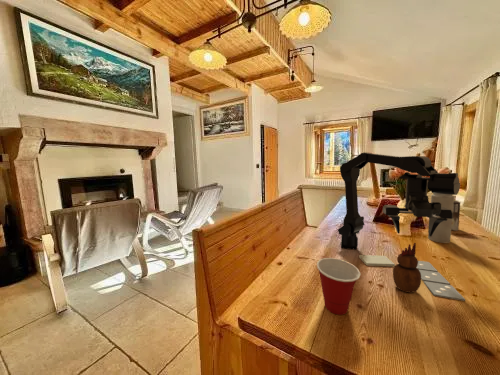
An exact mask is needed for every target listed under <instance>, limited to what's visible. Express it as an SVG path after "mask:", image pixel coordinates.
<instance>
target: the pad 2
mask: <svg viewBox="0 0 500 375" xmlns="http://www.w3.org/2000/svg"><path fill="white" fill-rule="evenodd" d="M419 271H420V273H421V282H424V281H426V282H433V283H439V284H446V285H451V282H449V281H448V280H447V279H446V277H444V275H442V274H441V273H440V272H439V271H438V272H432V271H425V270H419Z"/></svg>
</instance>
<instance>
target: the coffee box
mask: <svg viewBox="0 0 500 375" xmlns="http://www.w3.org/2000/svg"><path fill="white" fill-rule="evenodd" d="M460 209H461V202H460V201H457V200H454V203H453V219H452V226H451V231H456V232H457V231H459V228H460V227H459V225H460V214H461V212H460V211H461V210H460Z"/></svg>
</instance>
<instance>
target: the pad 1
mask: <svg viewBox="0 0 500 375" xmlns="http://www.w3.org/2000/svg"><path fill="white" fill-rule="evenodd" d="M416 268H418V270H425V271H432V272H439V271H438V270H437V269H436V268H435V267H434V266H433V264H432V263H430V261H424V260H418V265H417V267H416Z"/></svg>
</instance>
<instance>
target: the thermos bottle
mask: <svg viewBox="0 0 500 375" xmlns="http://www.w3.org/2000/svg"><path fill="white" fill-rule="evenodd" d="M454 201H455V195H450V194H437V193H432V194H431V196H430V203H432V202H439V203H441V207H445V208H447V209H450V210H451V211H453V203H454ZM446 219H447V218H446ZM451 226H452V219H448V220H447V221H443V222H441V223H440V224H439V225H438V226H437V228H436V229H435V231H434V233H433V234H432V236H429V234H428V237H427V238H428V240H429V241H432V242H437V243H443V244H448V243H450V242H451V237H452V236H451V235H452V230H451Z"/></svg>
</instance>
